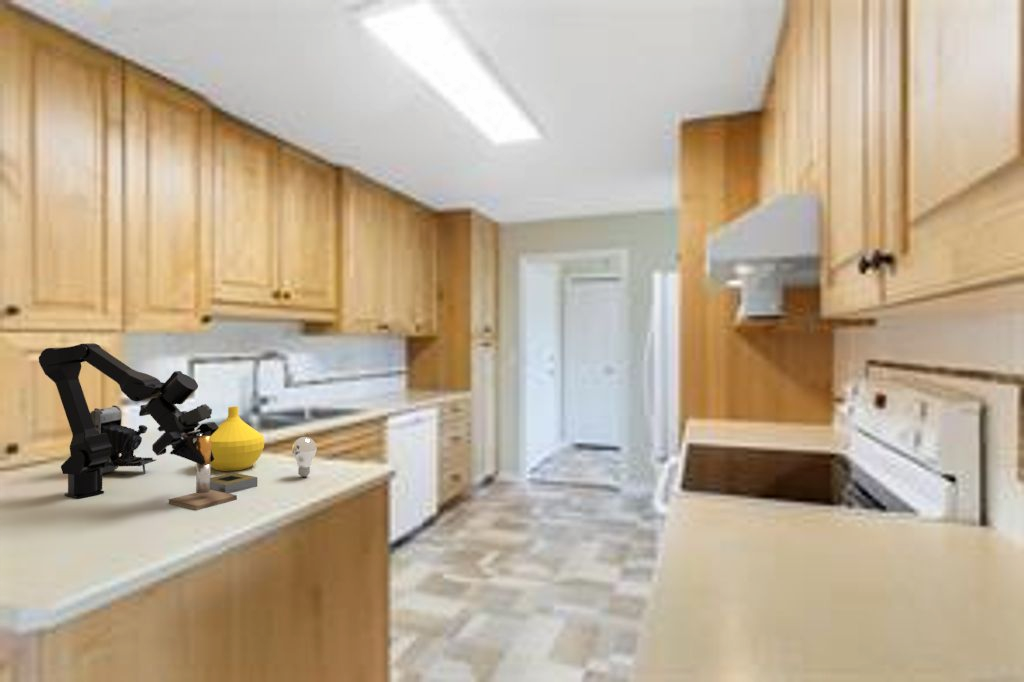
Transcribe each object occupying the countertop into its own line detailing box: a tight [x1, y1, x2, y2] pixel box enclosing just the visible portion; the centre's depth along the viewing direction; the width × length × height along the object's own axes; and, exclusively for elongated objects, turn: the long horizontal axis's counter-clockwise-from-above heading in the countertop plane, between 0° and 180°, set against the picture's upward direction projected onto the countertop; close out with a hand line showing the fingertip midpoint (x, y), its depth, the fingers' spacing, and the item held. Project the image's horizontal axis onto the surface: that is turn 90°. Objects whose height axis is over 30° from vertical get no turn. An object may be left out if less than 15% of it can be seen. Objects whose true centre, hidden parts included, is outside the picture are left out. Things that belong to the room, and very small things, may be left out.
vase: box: [210, 406, 265, 472], centre depth 189 cm, size 18×18×19 cm
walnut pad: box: [168, 490, 238, 511], centre depth 152 cm, size 11×11×1 cm
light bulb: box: [291, 436, 318, 478], centre depth 179 cm, size 7×7×12 cm
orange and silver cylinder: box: [195, 435, 211, 493], centre depth 152 cm, size 3×3×14 cm
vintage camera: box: [90, 405, 157, 475], centre depth 179 cm, size 10×15×20 cm, turn 89°
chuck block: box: [210, 472, 258, 494], centre depth 166 cm, size 10×10×2 cm
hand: (208, 462), depth 152 cm, fingers closed on orange and silver cylinder, 3 cm apart
